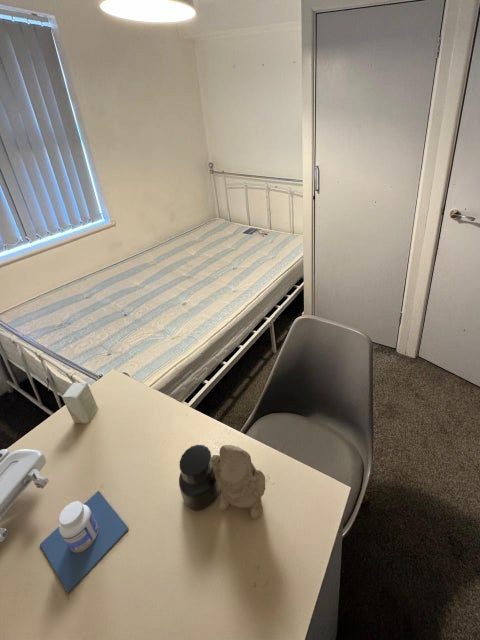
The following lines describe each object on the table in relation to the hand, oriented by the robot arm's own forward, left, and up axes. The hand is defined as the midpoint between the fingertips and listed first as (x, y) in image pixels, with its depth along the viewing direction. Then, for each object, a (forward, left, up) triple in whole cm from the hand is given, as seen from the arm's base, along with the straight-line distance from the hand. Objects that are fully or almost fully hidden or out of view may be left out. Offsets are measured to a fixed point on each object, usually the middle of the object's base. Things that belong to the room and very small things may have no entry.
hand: (26, 507), depth 67 cm
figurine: (+35, +28, -7) cm, 45 cm away
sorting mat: (+11, +5, -7) cm, 14 cm away
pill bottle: (+11, +5, -7) cm, 14 cm away
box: (-19, +19, -8) cm, 28 cm away
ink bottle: (+25, +25, -7) cm, 36 cm away
